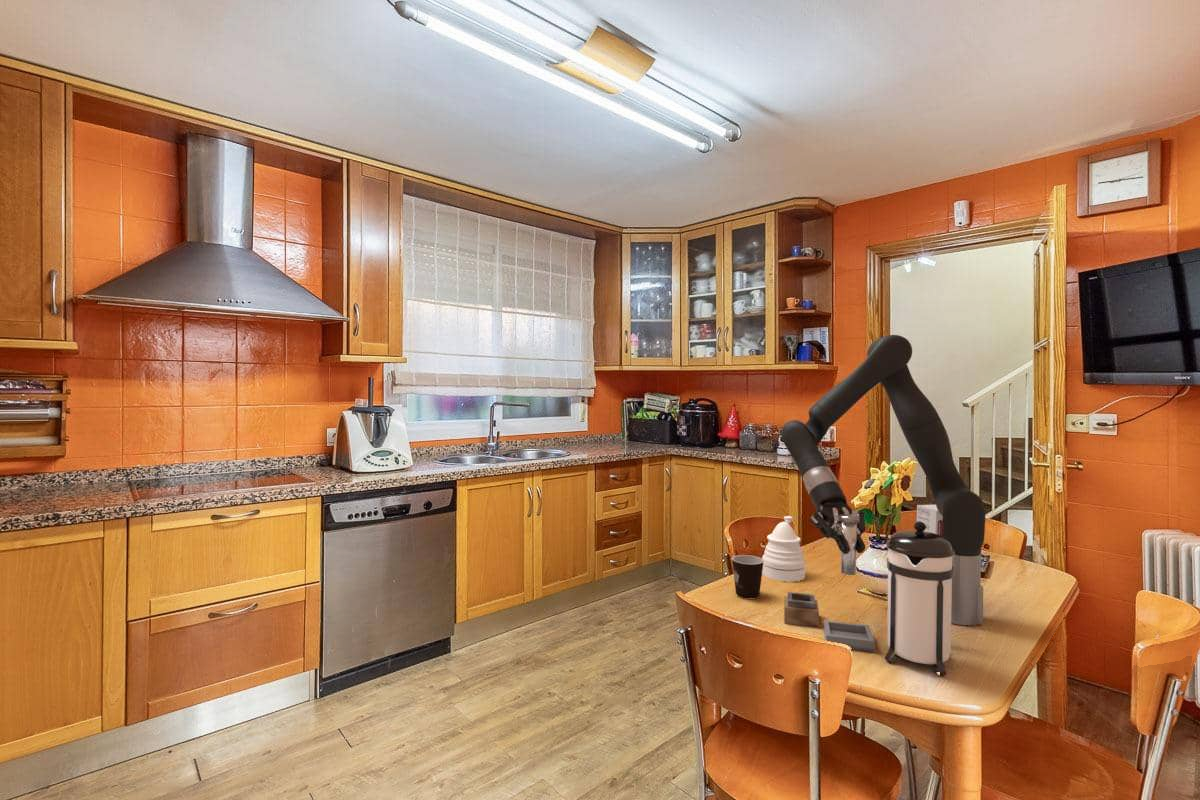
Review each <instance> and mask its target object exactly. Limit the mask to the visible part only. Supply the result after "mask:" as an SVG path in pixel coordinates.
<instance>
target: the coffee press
mask: <svg viewBox="0 0 1200 800" xmlns="http://www.w3.org/2000/svg"><path fill="white" fill-rule="evenodd" d="M913 528H914V529H915V530H914V529H905V530H899V531H896V532H894V533H893V534H891V535H890V536H889V539H888V540H887V541H886V545H885V546H886V548H887V550H888V551H887V552H888V553H887V557H886V568H887V615H886V616H887V617H886V618H887V620H886V621H887V622H886V623H887V625H886V626H887V628H886V629H887V630H886V631H887V633H886V634H887V635H886V638H887V640H886V641H887V646H888V650H887V652H886V654H885V656H884V659H885V661H886V662H888V663H889V664H891V663H892V664H894V663H895V662H896V661H897V660H898V659H900V658H902V659H904V660H907V661H910V662H914V663H917V664H922V665H923V664H924V665H930V666H931V667H932V668H933V670H934V672H935V673H936V672H940V675H942V676H947V669H946V667H945V665H944V663H945V662H947V661H948V660H949V659H950V658H951V656H952V653H951V651H952V645H951V644H952V623H951V604H952V577H953V566H952V557H953V556H954V554H955V550H954V548H952V546H951V543H950V542H949V541H948V540H947V539H946V538H944V537H942V536H940V535H938V534H935V533H931V532H925V531H924V530H925V529H926V525H925V524H924V523H923V522H920V521H919V522H917V521H916V522H915V523H914V525H913Z"/></svg>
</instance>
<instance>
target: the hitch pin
mask: <svg viewBox="0 0 1200 800" xmlns="http://www.w3.org/2000/svg"><path fill="white" fill-rule="evenodd" d="M840 521H841V522H842V527H841V531H842V536H843V535H844V537H845V539H846V541H847V543H848V545H849V547H850V552H849V553H848V554H843V552H841V551H840V552H841V553H840V556H841V558H840V573H842V574H843V575H848V576H854V575H857V550H856V549H857V523H859V516H858V515H854V514H840Z"/></svg>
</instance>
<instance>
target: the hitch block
mask: <svg viewBox="0 0 1200 800" xmlns="http://www.w3.org/2000/svg"><path fill="white" fill-rule="evenodd" d="M783 599H784V601H783V602H784V604H783V605H784V608H783V609H784V611H783V613H784V615H783V617H784V618H783V619H784V624H786V625H793V626H794V625H796V626H805V627H811V628H820V610H819V603H818V599H815V594H812V593H805V592H804V593H802V592H793V591H787V595H785V596H784V597H783Z"/></svg>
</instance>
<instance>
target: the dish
mask: <svg viewBox="0 0 1200 800" xmlns="http://www.w3.org/2000/svg"><path fill="white" fill-rule="evenodd" d="M823 634H824V640H827V641H831V642H837V643H842V644H846V645H848V646H850V647H851V648H852V650H853V651H859V652H868V653H874V652H875V651H876V649H875V648H876V640H875V638H874V636H873V632H872V631H871V627H870V625H869V624H861V623H853V622H841V621H837V620H836V621H834V620H826V619H825V620H824V619H823ZM852 650H851V651H852Z"/></svg>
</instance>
